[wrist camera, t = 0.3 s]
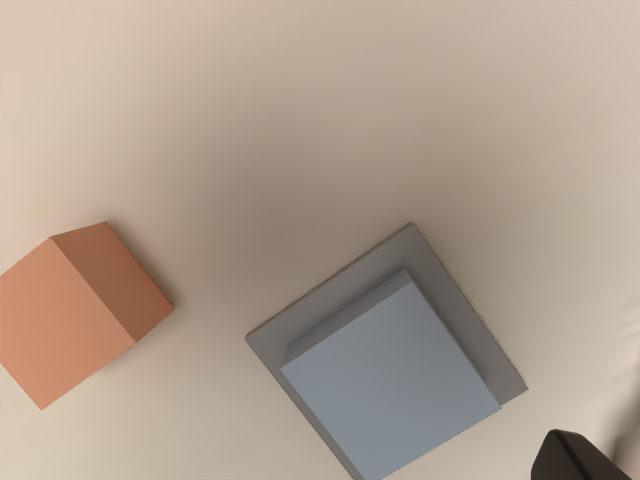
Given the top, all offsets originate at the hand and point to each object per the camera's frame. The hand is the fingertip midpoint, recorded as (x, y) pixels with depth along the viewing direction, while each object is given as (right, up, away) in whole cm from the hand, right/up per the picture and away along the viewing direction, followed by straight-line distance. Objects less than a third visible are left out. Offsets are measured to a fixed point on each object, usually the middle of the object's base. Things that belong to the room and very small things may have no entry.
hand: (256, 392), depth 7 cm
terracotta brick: (-10, 0, +16) cm, 19 cm away
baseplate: (+4, -4, +16) cm, 17 cm away
